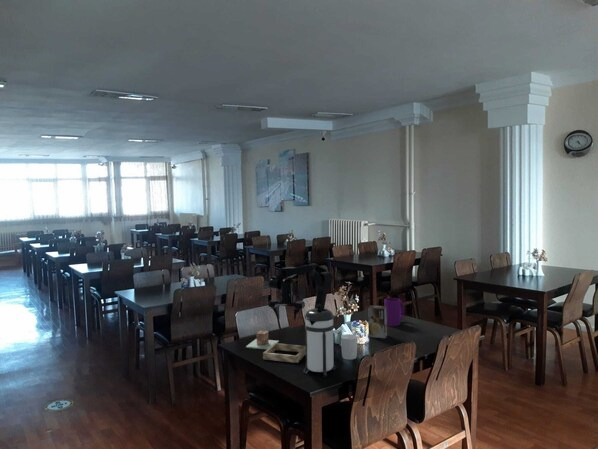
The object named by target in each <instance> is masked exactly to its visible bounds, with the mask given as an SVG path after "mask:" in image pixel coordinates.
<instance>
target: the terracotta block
mask: <svg viewBox="0 0 598 449" xmlns="http://www.w3.org/2000/svg"><path fill="white" fill-rule="evenodd" d="M256 339H257V345H266V344H267V343H269V342H268V340H269V331H268V330H259V331H257V333H256Z"/></svg>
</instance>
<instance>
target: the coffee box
mask: <svg viewBox="0 0 598 449" xmlns="http://www.w3.org/2000/svg"><path fill="white" fill-rule="evenodd" d="M367 311H368V312H367V315H368V319H367V321H368V337H369V338H377V339H378V338H379V339H386V338H387V337H388V326H387V307H386V306H384V305H369V307H368V308H367Z"/></svg>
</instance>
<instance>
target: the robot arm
mask: <svg viewBox="0 0 598 449" xmlns="http://www.w3.org/2000/svg"><path fill="white" fill-rule="evenodd" d="M307 273H309V274H310V275H311V277H312V278H313V280H315V285H316V288H317V290H316V295H315V303H314V308H313V309H315V308H317V307H316V306H317V305H318V304H321V306H322V307H321V308H324V309H325V305H326V301H327V294H328V290H329V288H330V287H331V285H332V283H333V280H334V275H333V274H332V273H331V272H330V271H328V270H327V269H326V268H323V267H322V266H320V265H318V264H317V263H310V264H308V265H306V264H305V265H301V266H298V267H297V266H296V267H294V266H286V267H282V268H280V269H279V271H278V273H277V275H276V276H275V275H274V276H272V275H271V279H269V282H268V287H269V288H270V289H271V290H277V291H280V294H279V295H280V299H281V300H279V299H271V300H269V301H268V307H270V309H272V310H273V311H274V313H275V317H276V318H277V320H278V321H279V320H280V317H281V316H280V306H282V307H283V306H284V307H294V309H293V320H294V322H296V321H297V317H298V314H299V312H300V311H301V310H302V309H304V308H305V307H306V303H305V301H304V300H303V301H302V300H297V301H296V295H294V294H293V291H292V290H293V284H295V283H296V281H295V280H294V279H293V277H295V276H297V275H300V274H307Z"/></svg>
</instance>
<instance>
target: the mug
mask: <svg viewBox="0 0 598 449" xmlns="http://www.w3.org/2000/svg"><path fill="white" fill-rule="evenodd" d="M383 302H384V303H383V304H384V305H383V306H386V307H387V327H399V326H400V325H401V320H402V319H403V317H404V314H405V306H404V303H403V301H402V300H401V299H400V298H396V297H386V298H384V300H383Z"/></svg>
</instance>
